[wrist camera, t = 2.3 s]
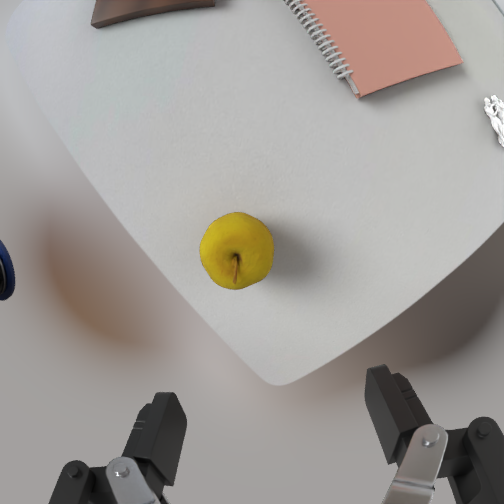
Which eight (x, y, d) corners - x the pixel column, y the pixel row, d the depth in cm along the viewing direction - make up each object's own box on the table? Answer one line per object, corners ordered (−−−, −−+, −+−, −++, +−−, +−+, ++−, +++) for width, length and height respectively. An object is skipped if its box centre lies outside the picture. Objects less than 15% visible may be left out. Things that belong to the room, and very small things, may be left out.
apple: (235, 280, 30) (228, 320, 22) (195, 233, 29) (173, 259, 21) (285, 243, 29) (295, 273, 21) (245, 192, 27) (240, 204, 20)
